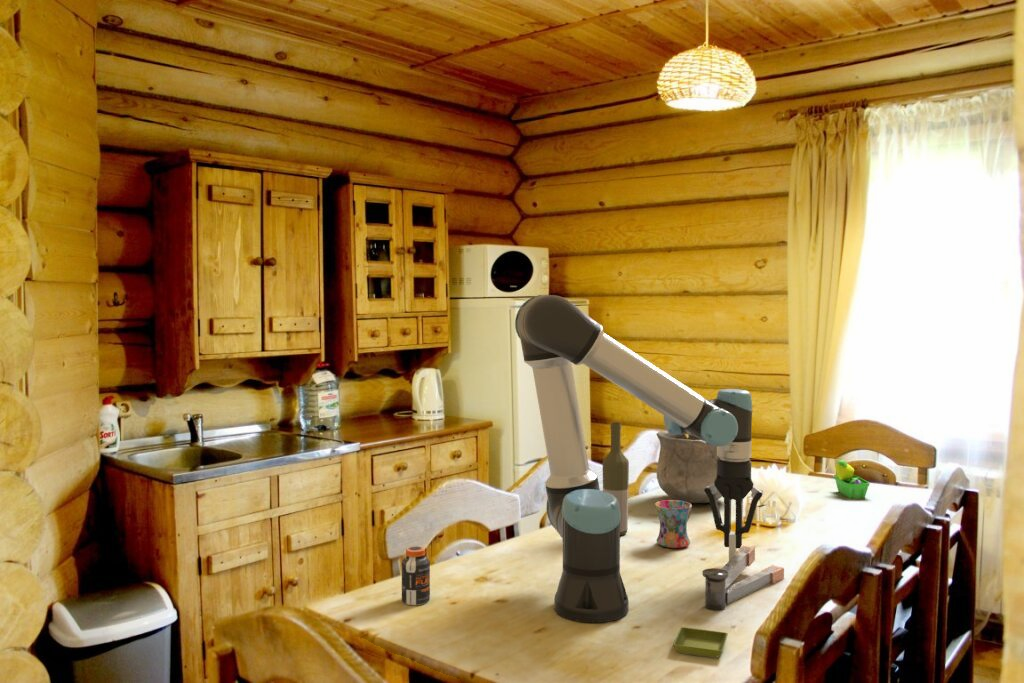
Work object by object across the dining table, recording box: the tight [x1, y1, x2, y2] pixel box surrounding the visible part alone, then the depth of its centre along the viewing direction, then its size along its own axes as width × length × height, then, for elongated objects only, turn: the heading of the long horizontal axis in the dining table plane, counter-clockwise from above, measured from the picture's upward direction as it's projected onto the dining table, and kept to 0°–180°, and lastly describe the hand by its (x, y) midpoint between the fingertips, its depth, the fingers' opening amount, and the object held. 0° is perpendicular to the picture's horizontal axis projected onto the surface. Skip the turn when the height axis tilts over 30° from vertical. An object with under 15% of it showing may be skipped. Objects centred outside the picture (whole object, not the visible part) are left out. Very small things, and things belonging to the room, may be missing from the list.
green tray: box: [672, 626, 729, 659], centre depth 152 cm, size 9×9×2 cm
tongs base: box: [702, 564, 785, 612], centre depth 180 cm, size 29×5×7 cm, turn 134°
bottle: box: [602, 422, 630, 536], centre depth 225 cm, size 7×7×30 cm
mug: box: [654, 499, 693, 549], centre depth 216 cm, size 12×9×11 cm
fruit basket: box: [833, 459, 870, 499], centre depth 267 cm, size 11×9×11 cm
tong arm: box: [720, 545, 756, 588], centre depth 184 cm, size 23×3×3 cm, turn 150°
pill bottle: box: [401, 545, 431, 606], centre depth 176 cm, size 6×6×11 cm
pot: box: [655, 429, 723, 504], centre depth 260 cm, size 25×24×21 cm
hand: (732, 561), depth 190 cm, fingers closed
